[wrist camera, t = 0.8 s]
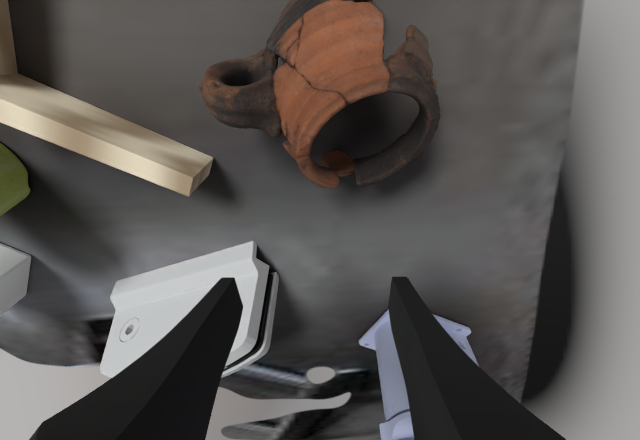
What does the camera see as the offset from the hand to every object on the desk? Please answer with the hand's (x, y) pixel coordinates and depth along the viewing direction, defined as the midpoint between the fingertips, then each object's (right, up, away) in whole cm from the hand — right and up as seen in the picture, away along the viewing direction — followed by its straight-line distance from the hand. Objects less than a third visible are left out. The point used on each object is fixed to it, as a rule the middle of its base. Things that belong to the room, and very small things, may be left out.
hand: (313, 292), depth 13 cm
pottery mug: (+1, +12, +5) cm, 13 cm away
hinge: (-12, -4, +16) cm, 20 cm away
